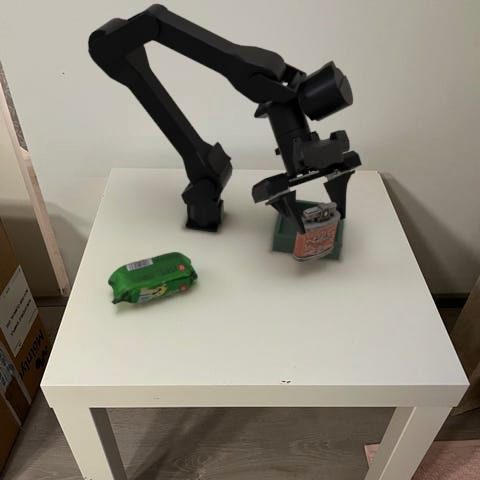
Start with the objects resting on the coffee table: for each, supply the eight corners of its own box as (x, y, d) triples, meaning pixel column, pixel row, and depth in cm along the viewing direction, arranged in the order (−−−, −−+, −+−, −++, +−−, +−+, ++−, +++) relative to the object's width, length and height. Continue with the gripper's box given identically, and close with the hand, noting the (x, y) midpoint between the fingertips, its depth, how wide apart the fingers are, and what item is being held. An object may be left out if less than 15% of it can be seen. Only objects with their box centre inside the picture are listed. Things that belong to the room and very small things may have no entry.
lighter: (325, 240, 88) (335, 193, 81) (336, 251, 87) (348, 204, 79) (288, 253, 86) (295, 206, 78) (299, 265, 84) (307, 218, 76)
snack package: (105, 289, 85) (99, 267, 81) (189, 264, 89) (187, 242, 85) (116, 317, 80) (111, 295, 76) (203, 289, 85) (203, 267, 81)
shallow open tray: (272, 250, 93) (273, 235, 90) (280, 212, 101) (281, 197, 98) (338, 260, 91) (341, 245, 89) (341, 220, 100) (344, 205, 97)
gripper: (266, 129, 67) (303, 236, 70) (368, 101, 74) (398, 199, 76) (235, 154, 78) (268, 247, 80) (327, 128, 84) (355, 214, 87)
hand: (323, 226), depth 80 cm, fingers closed on lighter, 8 cm apart
